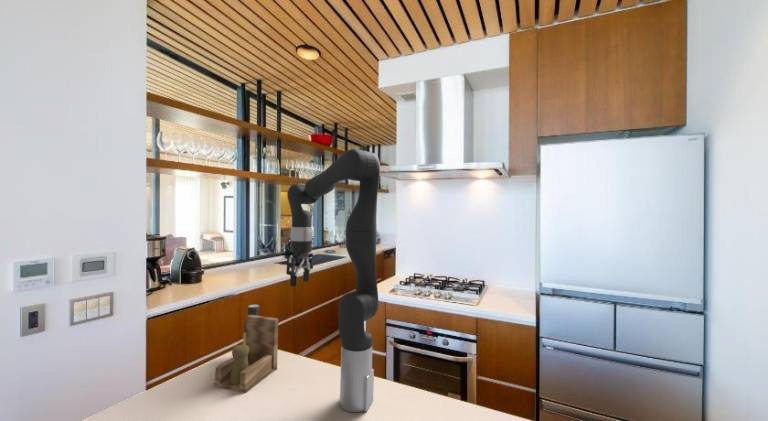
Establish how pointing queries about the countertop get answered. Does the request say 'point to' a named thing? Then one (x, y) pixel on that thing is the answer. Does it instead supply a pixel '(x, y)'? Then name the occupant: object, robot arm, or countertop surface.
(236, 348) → the olive rounded bulb piece
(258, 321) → the wooden stand
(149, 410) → the countertop surface
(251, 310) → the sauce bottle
